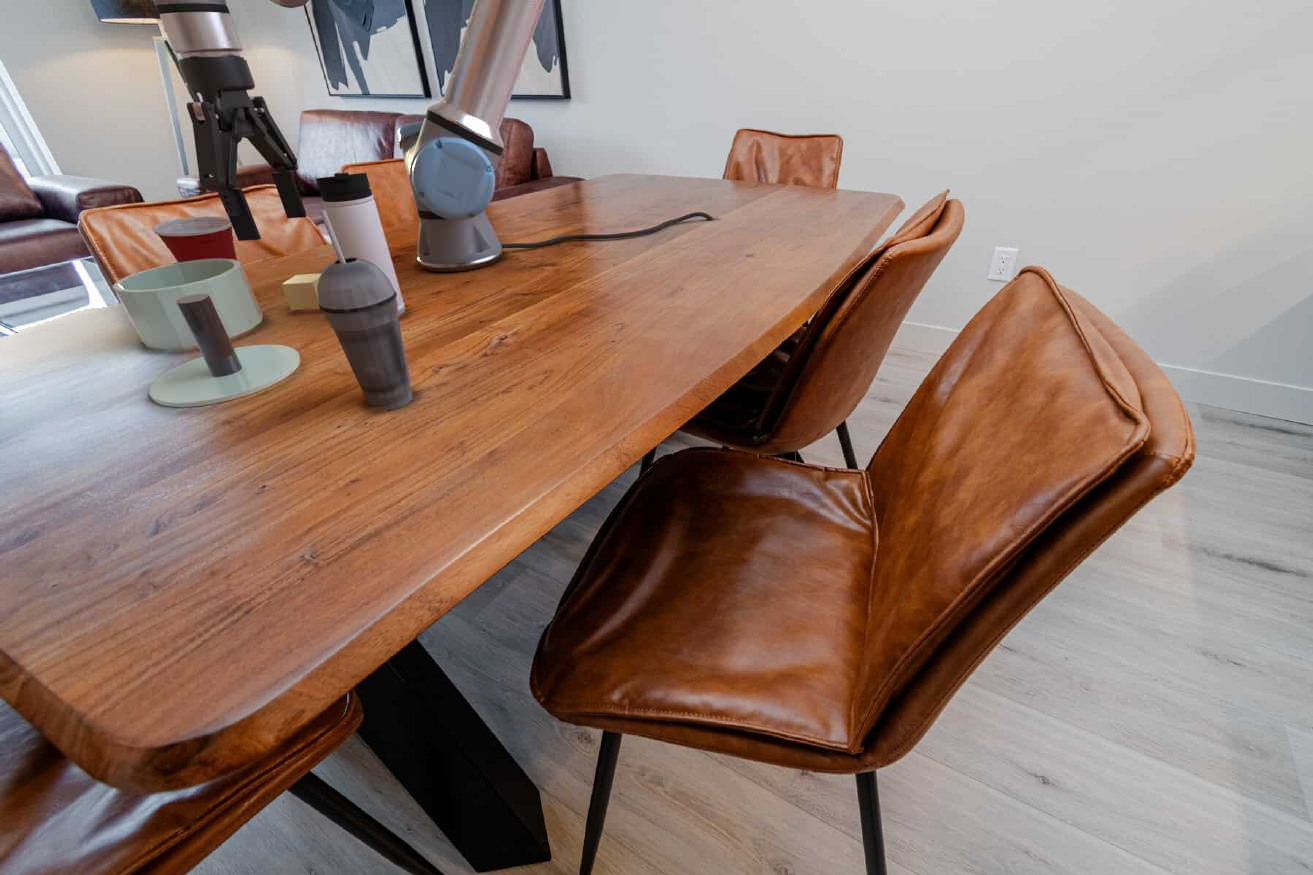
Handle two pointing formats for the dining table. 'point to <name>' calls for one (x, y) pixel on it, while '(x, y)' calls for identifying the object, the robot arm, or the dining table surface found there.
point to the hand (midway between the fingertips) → (275, 228)
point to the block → (302, 291)
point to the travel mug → (357, 222)
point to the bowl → (161, 287)
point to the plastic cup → (198, 238)
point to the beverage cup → (366, 325)
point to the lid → (219, 363)
